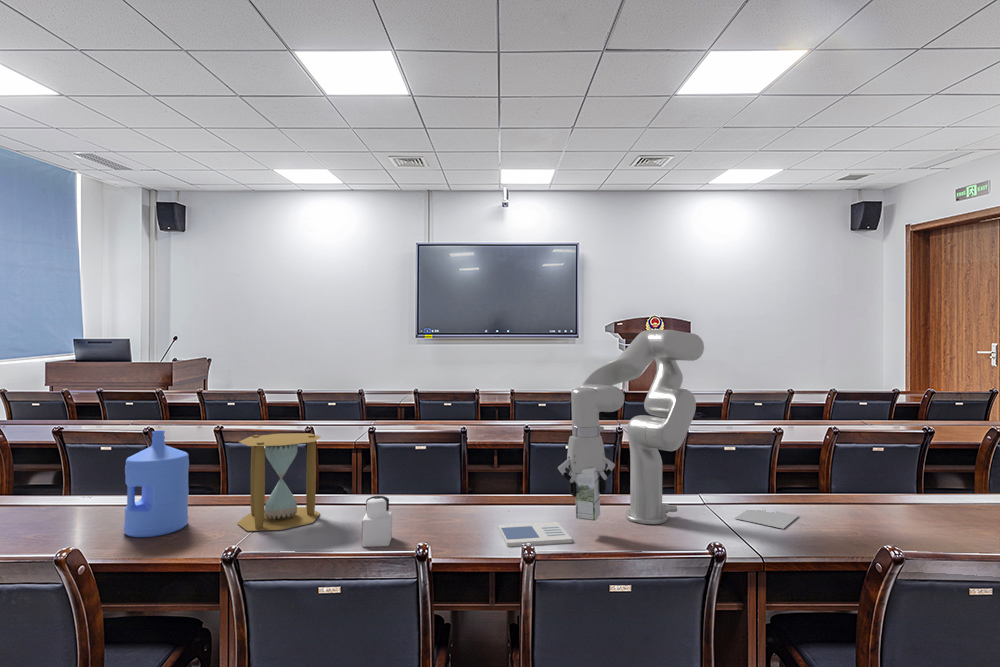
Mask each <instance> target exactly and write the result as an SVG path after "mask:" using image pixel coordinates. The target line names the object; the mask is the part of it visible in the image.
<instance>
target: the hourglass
mask: <svg viewBox="0 0 1000 667" xmlns="http://www.w3.org/2000/svg"><path fill="white" fill-rule="evenodd" d="M320 438H322V436H320V435H316V434H313V433H309V432H307V433H305V432H304V433H303V432H302V433H300V432H298V433H296V432H295V433H291V432H290V433H272V434H263V435H259V434H253V435H252V436H248V437H246V438H244V439H242V440H240V441H238V443H241V444H243V445H246V446H248V447H251V450H250V451H251V454H250V456H251V457H250V513H247V514H246V515H245V516H244V517H242V518H241V519H240V520H239V521H238V522H237V525H239V526H240V527H241V528H242V529H244V530H246V531H247V532H252V531H253V532H255V531H257V532H258V531H278V530H280V531H282V530H286V529H290V528H295V527H299V526H304V525H309V524H313V523H314V522H315V521H316V520H317V518H318V517H319V516H320V514H321V513H320V512H318V511H316V509H315V508H316V486H317V484H316V482H317V481H316V480H317V478H316V477H317V472H316V471H317V452H316V451H317V448H316V446H317V445H316V441H318V440H319V439H320ZM298 444H306V472H305V473H306V474H305V475H306V476H305V478H306V480H305V483H306V484H305V485H306V486H305V488H306V491H305V492H306V493H305V495H306V498H305V499H306V500H305V501H306V502H305V505H306V506H305V507H304V506H302V507H298V505H297V504H298V503H297V499H296V497H295V496H294V494H293V493H292V491H291V490H290V488H289V487H288V485H287V484H286V482H285V480H284V479H283V477H284V476H285V475H286V473H287V471H288V469H289V468H290V466H291V464H292V463H293V461H294V460H295V458H296V457H297V454H298V447H299V445H298ZM266 459H267V460H268V462H269V464H270V465H271V467H272V469H273V470H274V472H276V475H277V476H278V478H279V480H278V481H277V483H276V485H275V487H274V489H273V490H272V492H271V493H270V495H269V497H268V499H267V500H266V501H265V499H266Z"/></svg>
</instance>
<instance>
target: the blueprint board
mask: <svg viewBox="0 0 1000 667" xmlns="http://www.w3.org/2000/svg"><path fill="white" fill-rule="evenodd" d="M497 530H498V532H499V534H500V536H501V538H502V540H503V541H504V544H505V546H506V547H508V548H509V547H522V546H521V545H522V544H527V543H530V544H533V545H532V546H538V545H554V544H570V543H571V544H572V543H573V537H571V536H570V534H569V533H568V532H567V531H566V530H565V529H564V528H563V527H562V525H561V524H560V523H559V522H558V521H553V522H551V521H550V522H534V523H520V524H519V523H516V524H498V525H497Z"/></svg>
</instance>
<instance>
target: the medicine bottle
mask: <svg viewBox="0 0 1000 667" xmlns="http://www.w3.org/2000/svg"><path fill="white" fill-rule="evenodd" d="M392 537H393V511H390V499H389V498H388V497H386V496H384V495H373V496H370V497H368V498H367V499H366V501H365V515H364V516H363V518H362V520H361V547H362V548H373V547H374V548H375V547H376V548H377V547H389V546H390V544H391V541H392Z"/></svg>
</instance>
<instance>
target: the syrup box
mask: <svg viewBox="0 0 1000 667" xmlns="http://www.w3.org/2000/svg"><path fill="white" fill-rule="evenodd" d="M574 481H575V483H576V497H574V498H575V500H574V501H575V519H579V520H584V521H585V520H587V521H593V522H595V521H597V519H598V518H599V517H600V515H601V496H600V494H601V493H600V492H599V472H596V468H595V467H593V468H586V469H584V470H582V473H579V474H578V475H577V476H576V478H575V480H574Z"/></svg>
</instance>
